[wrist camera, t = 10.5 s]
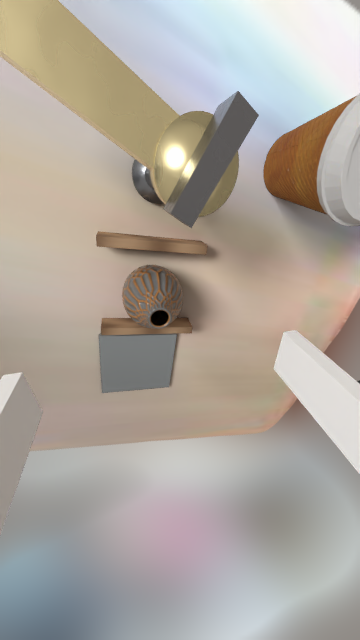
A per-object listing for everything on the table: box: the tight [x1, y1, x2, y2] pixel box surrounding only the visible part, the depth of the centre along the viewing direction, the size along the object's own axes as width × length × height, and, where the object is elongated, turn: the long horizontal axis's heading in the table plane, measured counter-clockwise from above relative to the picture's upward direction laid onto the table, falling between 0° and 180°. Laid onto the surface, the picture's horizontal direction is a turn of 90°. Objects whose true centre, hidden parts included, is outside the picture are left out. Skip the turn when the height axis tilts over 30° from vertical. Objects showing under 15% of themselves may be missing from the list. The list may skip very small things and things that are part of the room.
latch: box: [0, 0, 259, 228], centre depth 8 cm, size 5×18×4 cm, turn 57°
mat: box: [99, 333, 177, 393], centre depth 35 cm, size 11×11×1 cm
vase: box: [122, 265, 183, 329], centre depth 25 cm, size 7×7×9 cm
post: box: [132, 159, 163, 204], centre depth 18 cm, size 5×5×12 cm
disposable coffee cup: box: [264, 93, 360, 226], centre depth 21 cm, size 10×10×12 cm
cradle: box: [96, 232, 208, 335], centre depth 28 cm, size 12×12×2 cm
